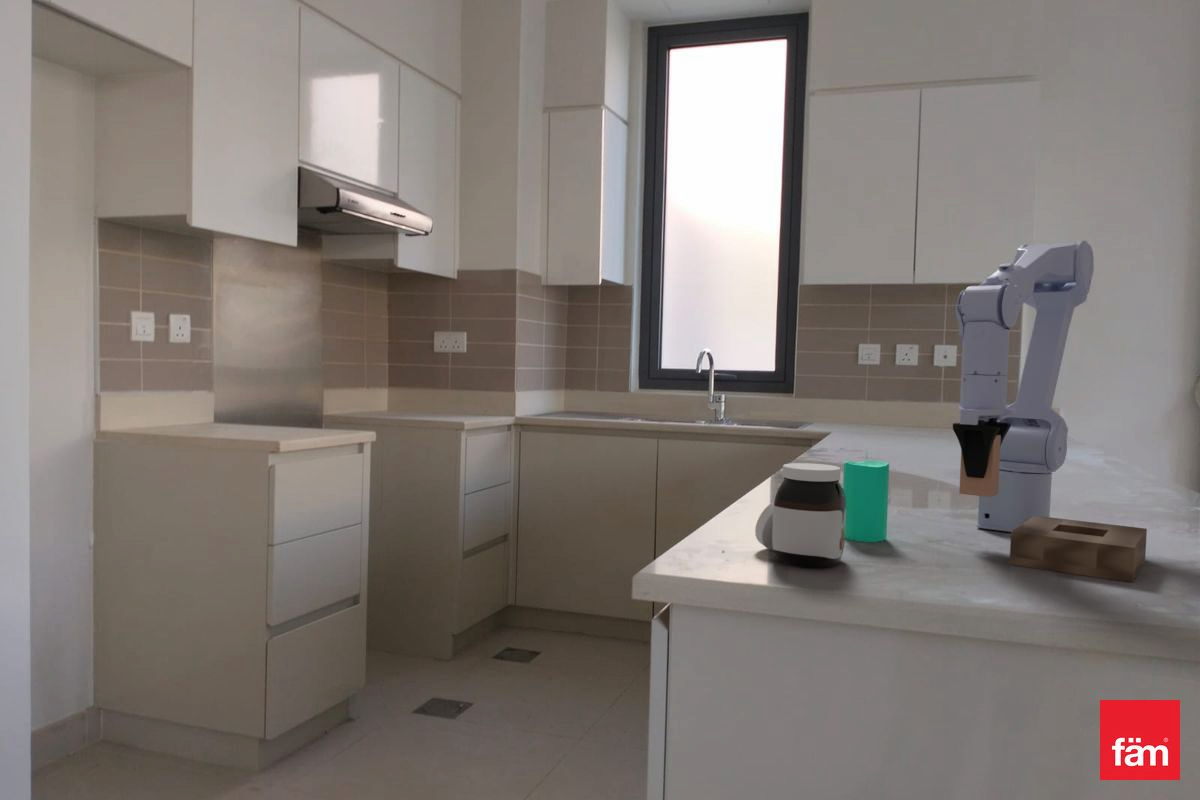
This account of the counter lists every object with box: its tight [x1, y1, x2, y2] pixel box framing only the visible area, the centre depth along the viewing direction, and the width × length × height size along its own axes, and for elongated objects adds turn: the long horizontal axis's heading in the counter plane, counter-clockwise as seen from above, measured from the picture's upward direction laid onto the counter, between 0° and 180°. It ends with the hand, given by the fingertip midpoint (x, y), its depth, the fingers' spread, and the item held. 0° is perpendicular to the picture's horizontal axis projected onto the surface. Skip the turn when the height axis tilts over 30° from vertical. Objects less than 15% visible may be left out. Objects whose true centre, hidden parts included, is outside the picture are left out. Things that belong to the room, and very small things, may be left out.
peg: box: [958, 435, 1001, 497], centre depth 119 cm, size 4×4×8 cm
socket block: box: [1009, 516, 1148, 583], centre depth 110 cm, size 13×15×4 cm
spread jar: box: [754, 462, 846, 569], centre depth 109 cm, size 12×11×12 cm
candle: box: [842, 451, 890, 543], centre depth 122 cm, size 6×6×12 cm
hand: (979, 475), depth 119 cm, fingers closed on peg, 4 cm apart
